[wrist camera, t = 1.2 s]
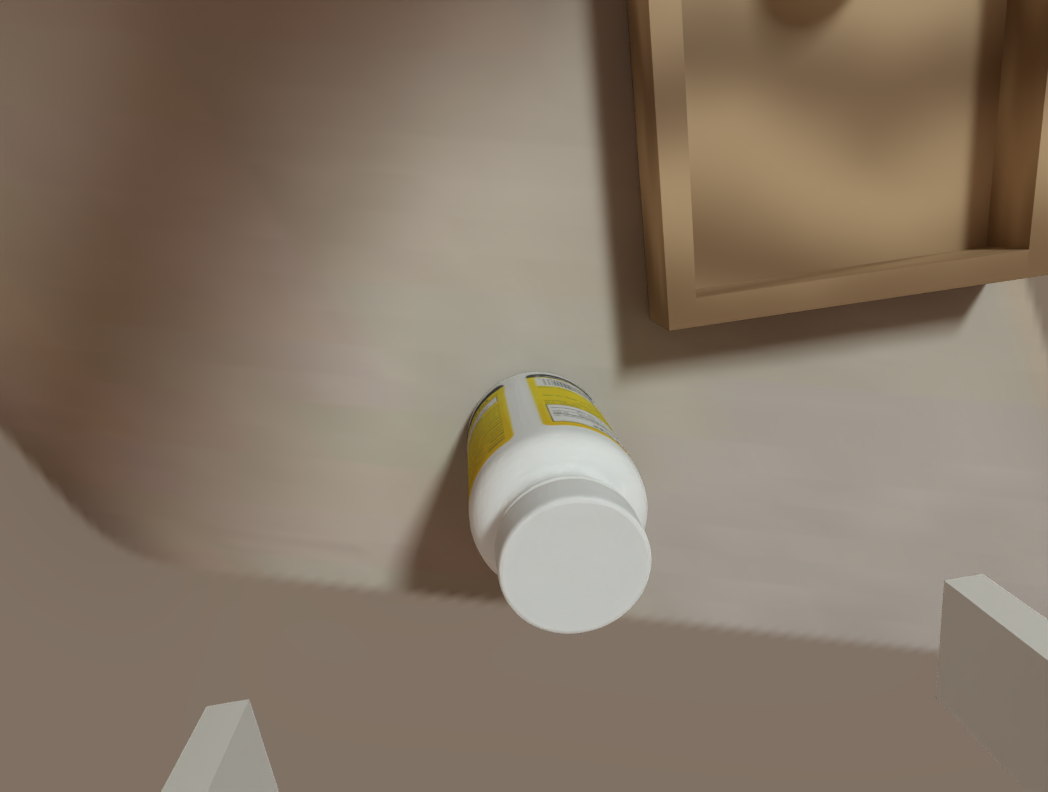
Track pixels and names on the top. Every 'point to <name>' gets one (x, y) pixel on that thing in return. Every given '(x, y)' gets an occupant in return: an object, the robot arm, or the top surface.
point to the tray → (836, 151)
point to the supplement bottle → (556, 504)
